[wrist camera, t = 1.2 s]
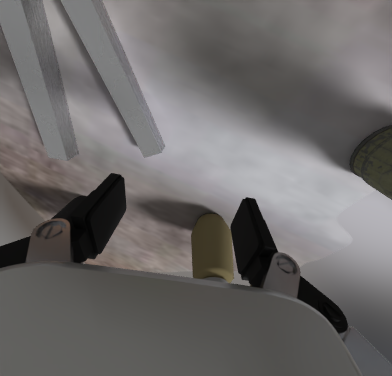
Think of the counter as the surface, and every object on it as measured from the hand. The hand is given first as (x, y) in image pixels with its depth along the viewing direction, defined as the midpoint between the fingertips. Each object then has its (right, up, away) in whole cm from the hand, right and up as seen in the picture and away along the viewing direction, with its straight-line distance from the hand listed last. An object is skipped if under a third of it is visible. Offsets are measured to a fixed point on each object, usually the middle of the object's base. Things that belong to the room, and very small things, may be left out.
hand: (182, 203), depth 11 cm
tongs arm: (-8, +16, +9) cm, 20 cm away
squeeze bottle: (+4, -6, +24) cm, 25 cm away
